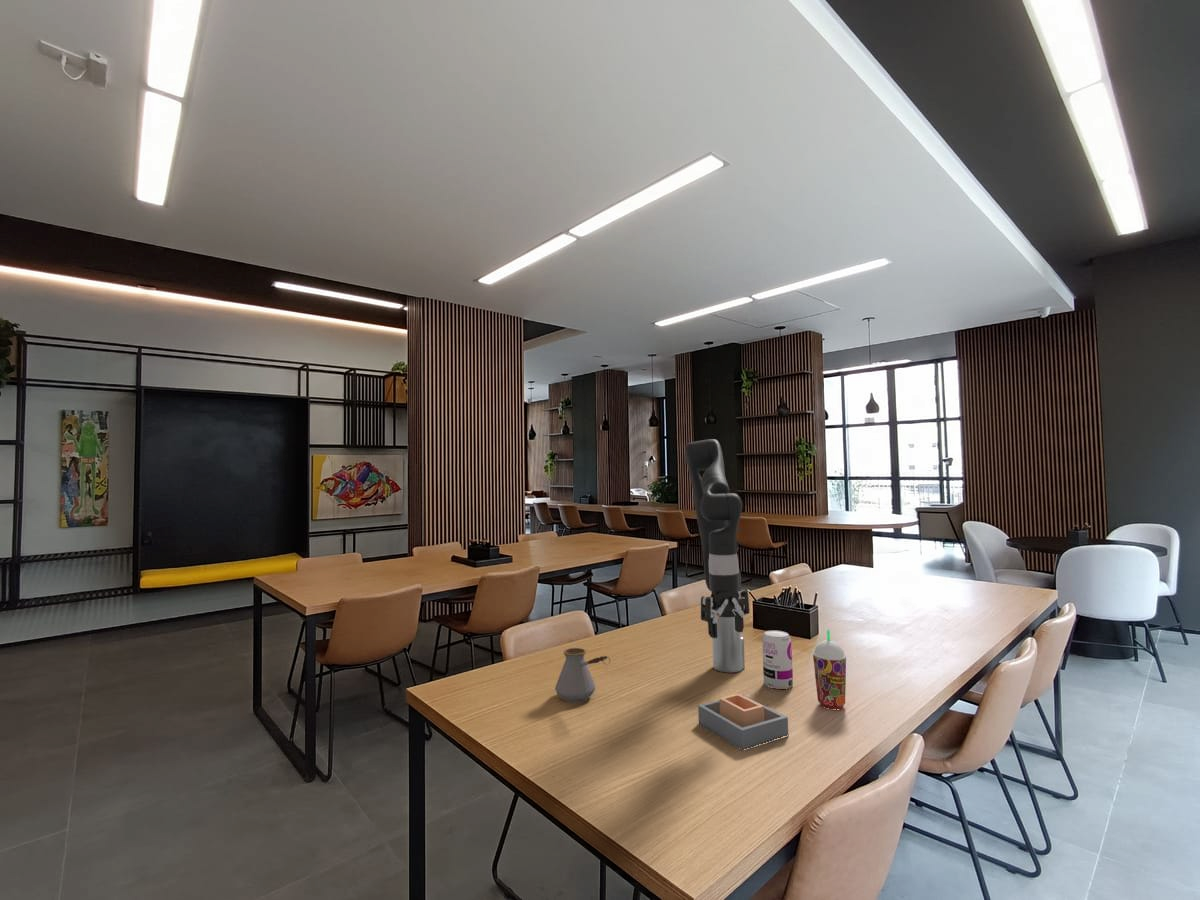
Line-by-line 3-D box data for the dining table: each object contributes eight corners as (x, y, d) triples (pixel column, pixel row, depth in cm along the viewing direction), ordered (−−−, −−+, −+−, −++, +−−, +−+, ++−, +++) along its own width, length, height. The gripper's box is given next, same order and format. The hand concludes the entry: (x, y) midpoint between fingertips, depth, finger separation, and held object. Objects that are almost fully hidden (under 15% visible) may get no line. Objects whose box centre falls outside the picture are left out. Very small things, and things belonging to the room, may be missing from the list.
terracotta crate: (739, 717, 138) (738, 693, 138) (764, 732, 130) (763, 706, 130) (720, 723, 135) (719, 698, 135) (745, 737, 127) (744, 711, 127)
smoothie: (834, 715, 139) (830, 635, 140) (807, 704, 147) (804, 628, 148) (855, 708, 143) (852, 631, 144) (829, 697, 150) (826, 624, 152)
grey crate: (741, 712, 142) (741, 694, 143) (788, 736, 128) (787, 717, 128) (698, 723, 136) (698, 705, 136) (742, 751, 122) (742, 730, 122)
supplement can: (794, 682, 162) (792, 631, 163) (791, 692, 155) (789, 638, 156) (766, 678, 166) (764, 628, 167) (762, 688, 158) (760, 635, 159)
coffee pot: (547, 696, 156) (546, 642, 157) (580, 686, 162) (580, 635, 163) (590, 721, 138) (589, 661, 139) (625, 709, 145) (624, 652, 146)
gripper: (734, 565, 147) (737, 626, 146) (692, 572, 140) (695, 635, 140) (754, 569, 140) (757, 633, 140) (711, 576, 134) (714, 643, 133)
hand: (726, 634), depth 140 cm, fingers open, 8 cm apart
